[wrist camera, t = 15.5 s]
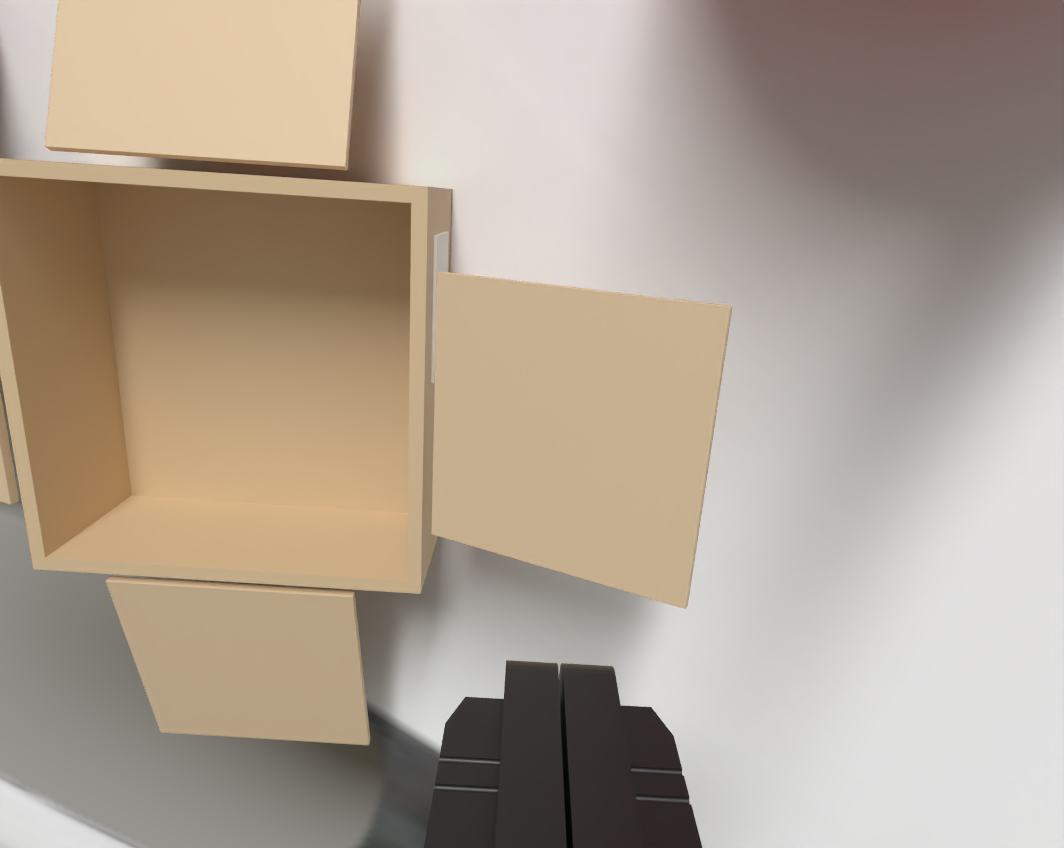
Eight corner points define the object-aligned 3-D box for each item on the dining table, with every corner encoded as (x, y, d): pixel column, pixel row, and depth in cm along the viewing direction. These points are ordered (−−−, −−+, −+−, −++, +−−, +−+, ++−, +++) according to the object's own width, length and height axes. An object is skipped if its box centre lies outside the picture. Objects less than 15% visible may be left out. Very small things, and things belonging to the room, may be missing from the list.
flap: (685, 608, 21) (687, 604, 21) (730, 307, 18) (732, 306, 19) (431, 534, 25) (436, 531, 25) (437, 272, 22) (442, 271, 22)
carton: (-75, 488, 31) (-214, 553, 25) (-207, -128, 24) (-438, -229, 18) (445, 521, 31) (423, 594, 26) (462, -82, 24) (438, -168, 19)
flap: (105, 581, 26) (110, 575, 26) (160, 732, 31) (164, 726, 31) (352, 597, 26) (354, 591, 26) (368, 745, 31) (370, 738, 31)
